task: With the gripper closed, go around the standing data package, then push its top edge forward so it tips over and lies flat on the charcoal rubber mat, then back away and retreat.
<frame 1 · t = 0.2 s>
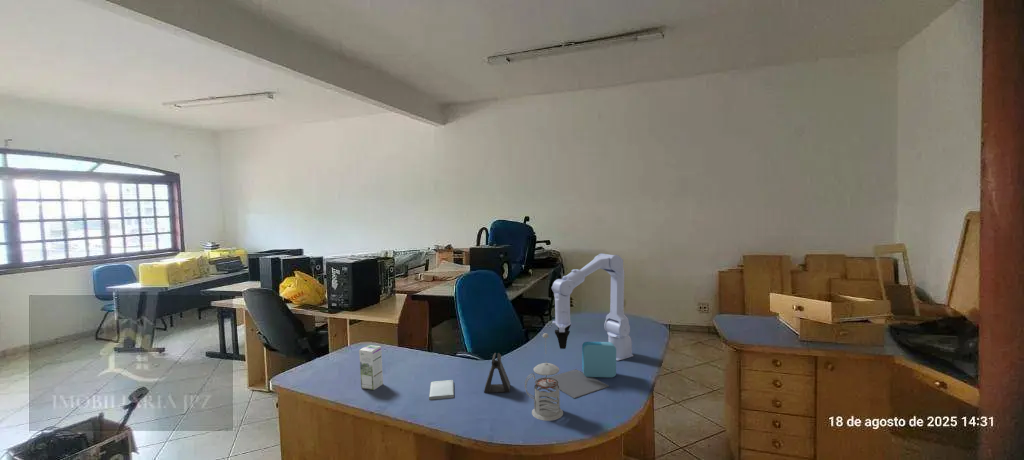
hand: (563, 345, 156), 10 cm above the table, fingers open, 7 cm apart
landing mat: (575, 383, 145), on the table
french press: (544, 413, 125), on the table
syrup box: (372, 386, 147), on the table
data package: (598, 375, 151), on the table, touching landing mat
phone stand: (497, 389, 142), on the table
hard drive: (441, 392, 142), on the table
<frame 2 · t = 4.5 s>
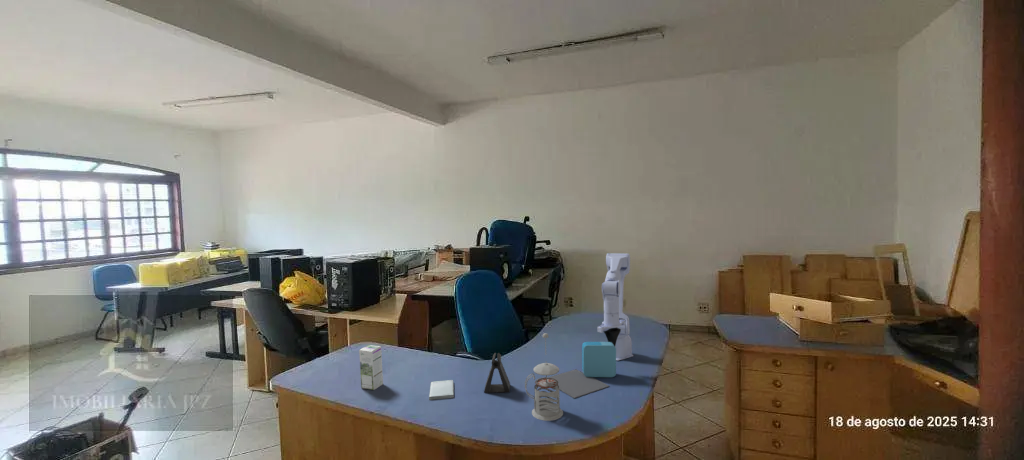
hand: (612, 347, 154), 9 cm above the table, fingers closed, pressing on data package
data package: (598, 375, 151), on the table, touching gripper, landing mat
everything else where it was.
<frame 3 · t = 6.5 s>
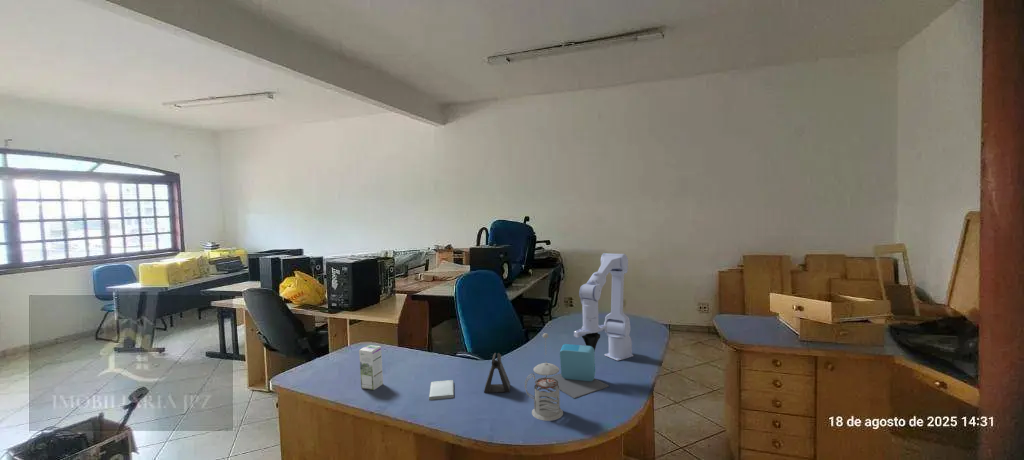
hand: (591, 352, 149), 9 cm above the table, fingers closed
data package: (578, 377, 149), point 1 cm above the table, touching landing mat
everything else where it was.
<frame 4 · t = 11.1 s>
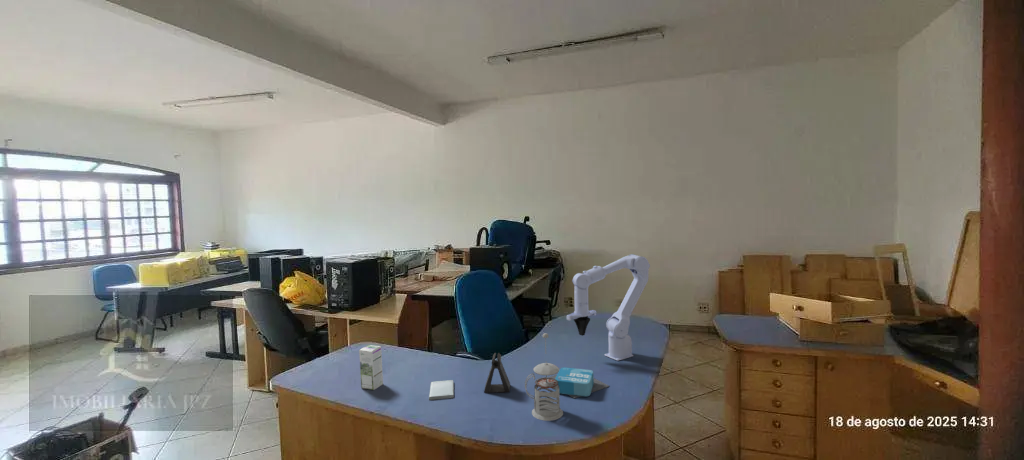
hand: (581, 334, 167), 10 cm above the table, fingers closed
data package: (577, 374, 147), point 3 cm above the table, touching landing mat
everything else where it was.
at the end: data package tilted 90°; data package inside the target area (4.8 cm from its centre), point 2.6 cm above the table; data package touching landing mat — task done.
